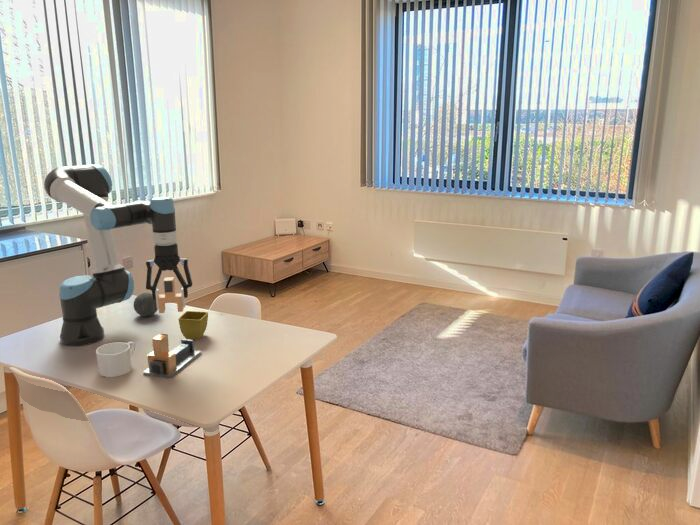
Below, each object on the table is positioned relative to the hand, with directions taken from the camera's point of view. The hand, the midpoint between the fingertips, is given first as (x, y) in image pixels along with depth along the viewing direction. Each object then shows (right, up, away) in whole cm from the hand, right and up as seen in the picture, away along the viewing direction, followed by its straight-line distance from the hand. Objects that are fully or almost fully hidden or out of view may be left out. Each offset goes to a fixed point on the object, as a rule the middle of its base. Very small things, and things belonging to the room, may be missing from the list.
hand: (171, 307), depth 197 cm
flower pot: (+3, -13, +21) cm, 25 cm away
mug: (-16, -21, -6) cm, 27 cm away
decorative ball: (-24, -7, +42) cm, 49 cm away
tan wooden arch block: (0, -1, 0) cm, 1 cm away
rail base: (+1, -19, -2) cm, 19 cm away
